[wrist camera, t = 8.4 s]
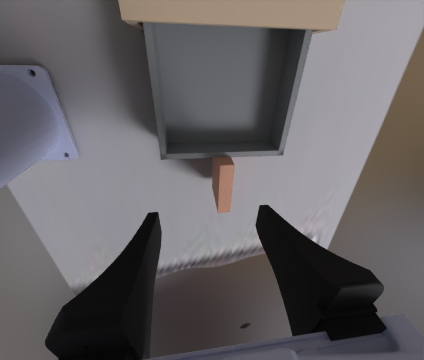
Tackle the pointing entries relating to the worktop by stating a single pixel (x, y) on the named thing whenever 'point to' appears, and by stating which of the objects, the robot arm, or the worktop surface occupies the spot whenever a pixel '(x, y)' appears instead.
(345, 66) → the worktop surface
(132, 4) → the sleeve
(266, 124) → the tray
